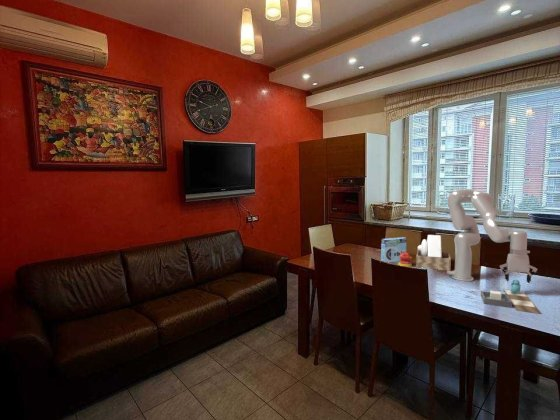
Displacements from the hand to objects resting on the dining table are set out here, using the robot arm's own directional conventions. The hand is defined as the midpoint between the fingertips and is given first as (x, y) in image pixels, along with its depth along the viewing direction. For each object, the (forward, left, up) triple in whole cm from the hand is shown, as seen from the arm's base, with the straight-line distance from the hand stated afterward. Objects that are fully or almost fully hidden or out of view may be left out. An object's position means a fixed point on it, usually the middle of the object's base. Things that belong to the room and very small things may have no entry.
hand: (517, 281), depth 174 cm
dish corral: (-44, +47, -8) cm, 64 cm away
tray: (-13, -18, -8) cm, 24 cm away
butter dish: (-39, +48, +5) cm, 62 cm away
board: (-1, -11, -8) cm, 14 cm away
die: (-13, -18, -7) cm, 23 cm away
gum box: (-71, +27, -8) cm, 76 cm away
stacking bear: (-61, +5, -8) cm, 61 cm away
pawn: (-1, +1, -7) cm, 7 cm away
